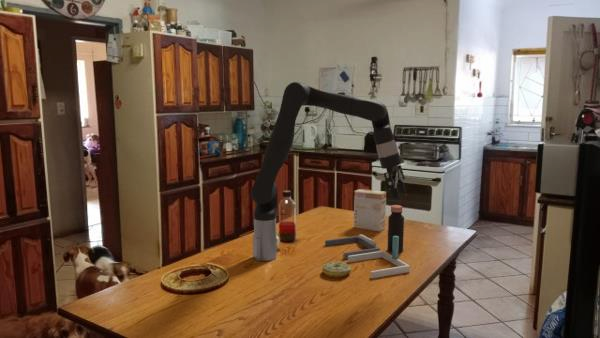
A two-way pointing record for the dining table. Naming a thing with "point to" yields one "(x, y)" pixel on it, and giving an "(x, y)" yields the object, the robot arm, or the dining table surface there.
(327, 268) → the decorated donut
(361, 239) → the grey u-shaped handle
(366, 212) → the coffeecake box
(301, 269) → the dining table surface
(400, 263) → the white u-shaped bracket
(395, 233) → the vinegar
